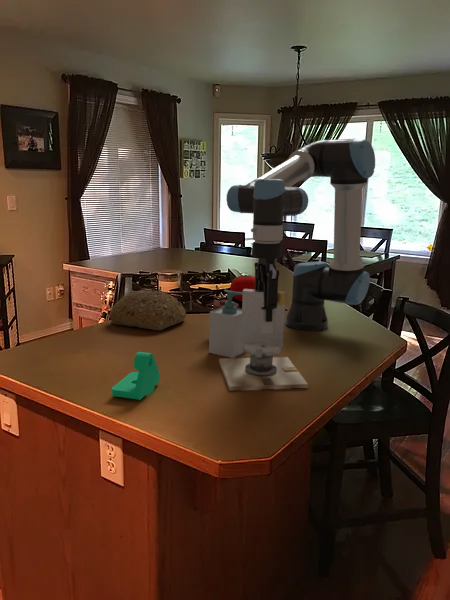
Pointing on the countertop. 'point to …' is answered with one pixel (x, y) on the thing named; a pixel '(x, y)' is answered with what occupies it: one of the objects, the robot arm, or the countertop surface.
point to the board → (242, 380)
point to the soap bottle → (226, 329)
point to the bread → (148, 310)
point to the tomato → (242, 285)
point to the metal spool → (261, 366)
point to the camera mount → (139, 378)
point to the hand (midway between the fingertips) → (264, 329)
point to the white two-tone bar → (252, 324)
